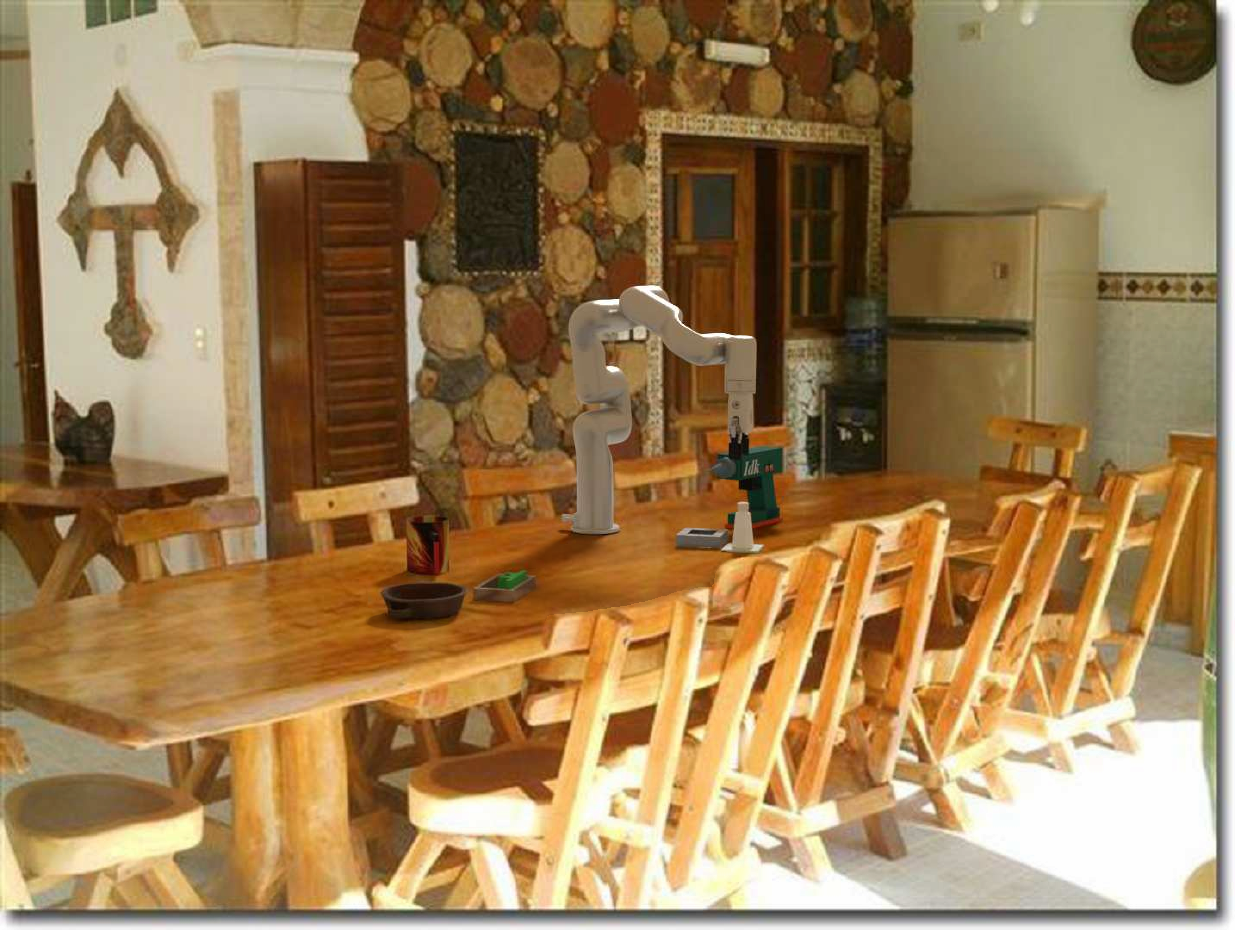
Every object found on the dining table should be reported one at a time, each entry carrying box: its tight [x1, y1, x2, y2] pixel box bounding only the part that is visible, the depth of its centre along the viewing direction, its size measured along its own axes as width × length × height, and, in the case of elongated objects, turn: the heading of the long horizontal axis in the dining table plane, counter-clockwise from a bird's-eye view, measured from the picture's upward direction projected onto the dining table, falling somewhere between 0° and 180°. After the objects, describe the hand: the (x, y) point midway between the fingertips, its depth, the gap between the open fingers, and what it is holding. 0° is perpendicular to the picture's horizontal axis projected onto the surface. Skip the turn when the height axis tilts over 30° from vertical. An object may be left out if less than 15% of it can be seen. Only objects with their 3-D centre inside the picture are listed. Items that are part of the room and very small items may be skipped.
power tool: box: [707, 445, 783, 529], centre depth 441 cm, size 32×7×20 cm, turn 143°
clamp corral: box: [472, 573, 537, 603], centre depth 359 cm, size 9×16×2 cm, turn 166°
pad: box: [720, 542, 765, 554], centre depth 411 cm, size 9×9×1 cm
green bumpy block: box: [497, 569, 527, 589], centre depth 357 cm, size 11×4×5 cm, turn 166°
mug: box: [405, 515, 450, 576], centre depth 383 cm, size 10×14×12 cm
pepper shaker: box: [731, 501, 754, 549], centre depth 410 cm, size 5×5×11 cm
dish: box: [379, 581, 469, 620], centre depth 340 cm, size 18×22×5 cm
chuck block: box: [675, 527, 729, 549], centre depth 418 cm, size 11×11×3 cm
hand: (738, 456), depth 409 cm, fingers open, 9 cm apart
